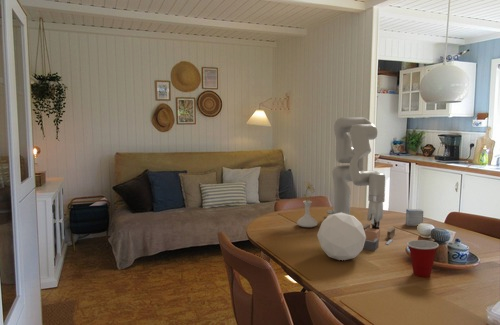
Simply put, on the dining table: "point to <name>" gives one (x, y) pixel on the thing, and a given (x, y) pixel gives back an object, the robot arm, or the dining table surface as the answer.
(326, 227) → the ball
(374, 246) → the trap bay
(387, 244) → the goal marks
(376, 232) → the block
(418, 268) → the plastic cup
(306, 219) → the flower in vase
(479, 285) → the dining table surface
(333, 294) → the dining table surface
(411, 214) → the medicine box
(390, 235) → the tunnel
